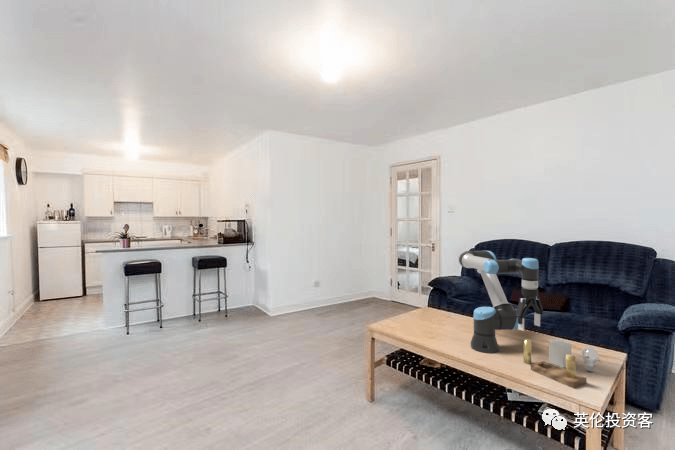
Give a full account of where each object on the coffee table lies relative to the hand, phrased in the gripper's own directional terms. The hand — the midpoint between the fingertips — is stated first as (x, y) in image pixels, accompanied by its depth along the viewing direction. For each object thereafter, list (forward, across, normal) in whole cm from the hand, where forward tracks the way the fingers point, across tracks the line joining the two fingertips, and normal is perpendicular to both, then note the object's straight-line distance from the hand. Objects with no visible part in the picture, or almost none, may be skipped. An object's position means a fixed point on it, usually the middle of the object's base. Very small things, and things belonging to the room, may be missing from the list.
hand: (529, 327), depth 172 cm
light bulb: (+18, +15, -21) cm, 32 cm away
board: (+18, -3, -16) cm, 24 cm away
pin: (+18, -2, 0) cm, 18 cm away
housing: (+18, +12, -9) cm, 24 cm away
